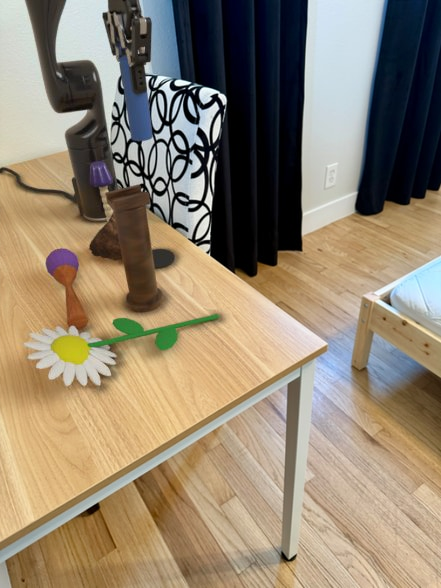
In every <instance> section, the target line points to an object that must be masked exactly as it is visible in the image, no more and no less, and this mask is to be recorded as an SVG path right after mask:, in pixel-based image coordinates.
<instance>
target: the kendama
mask: <svg viewBox="0 0 441 588" xmlns="http://www.w3.org/2000/svg"><path fill="white" fill-rule="evenodd" d="M45 259H46V260H45V268H46V271H47V273H48V274H49V275H50V276H51V277H52V278H53V279H54V280H55V281H56V282H57V283H59V284H61V285H62V286H64V292H65V294H64V295H65V308H66V309H65V310H66V323H67V327H68V329H69V328H70V326H75V328H76V329H77V330H78V331H79V330H82V329H84V328H86V327H87V325H89V318H88V316H87V314H86V311H85V309H84V307H83V305H82V303H81V302H80V301H81V300H80V299H79V297H78V295H77V293H76V291H75V289H74V287H73V283H74V281H75V279H76V278H77V274H78V271H79V267H80V263H79V259H78V256H77V254H75V253H74V252H73V251H72V250H69V249H68V248H62V247H61V248H56V249H53V250H52V251H50V253H49V254H48V256H47V257H46V258H45Z"/></svg>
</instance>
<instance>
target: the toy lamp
mask: <svg viewBox="0 0 441 588" xmlns="http://www.w3.org/2000/svg"><path fill="white" fill-rule="evenodd" d="M112 182H113V178H112V176H111V174H110V172H109V170H108V168H107V166H106V164H105V163H104V162H102V161H97V162H93V163H92V164H91V165H90V184H91V185H92V186H95V187H99V189H100V194H101V196H102V202H103V203H104V204H103V207H104V209H105V215H106V216H107V217H106V219H107V221H106V223H107V222H108V221H109V219H110V218H111V216H112V214H113V210H112V208H111V207H110V206H109V205H108V204H107V200H106V195H105V193H106V192H109V191H108V189H107V188H108V186H107V185H109V184H111V183H112Z"/></svg>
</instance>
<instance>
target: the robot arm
mask: <svg viewBox="0 0 441 588" xmlns="http://www.w3.org/2000/svg"><path fill="white" fill-rule="evenodd" d="M24 3H25V7H26V10H27V13H28V17H29V21H30V25H31V29H32V33H33V38H34V43H35V48H36V52H37V57H38V62H39V67H40V72H41V76H42V82H43V85H44V90H45V94H46V97H47V100H48V102H49V105H50V108H51V109H52V110H53V111H54V112H55V113H57V114H69V113H70V114H71V113H76V112H83V111H86V113H85V115H84V116H83V117H82V119H80V120H79V121H78V122H77V123H74V124H73V125H72V126H70V127H68V128H67V129H66V130H65V131H64V140H65V145H66V148H67V152H68V156H69V160H70V164H71V168H72V172H73V177H72V178H71V183H72V188H73V191H74V194H73V195H72V194H70V193H69V192H67V191H64V190H60V189H50V188H37V187H34V186H30V185H27V184H25V183H24V182H23V181H21V176H20V174H19V173H18V172H16V171H14V170H13V169H11V168H8V167H6V166H5V167H4V166H2V167H0V173H3V171H6V172H8V173H10V174H12V175H13V176H15V177H16V183H17V184H18V185H19V186H20V187H22V188H24V189H26V190H29V191H33V192H36V193H42V194H43V193H44V194H59V195H63V196H65V197H67V198H68V199H69V200H71V201H72V202H74V203H76V204H77V208H78V212H79V216H80V217H83V218H84V220H86V221H89V222H95V223H98V222H107V219H106V217H107V216H106V215H105V209H104V207H103V204H104V203H103V202H102V196H101V194H100V189H99V187H95V186H92V185H91V184H90V165H91V164H92V163H93V162H97V161H102V162H104V163H105V164H106V166H107V168H108V170H109V172H110V174H111V176H112V178H113V182H112V183H111V184H109V185H107V186H108V188H107V189H108V191H109V192H110V191H114V190H118V189H119V185H118V180H117V173H116V170H115V168H116V167H115V164H114V159H113V153H112V147H111V142H110V136H109V131H108V123H107V118H106V110H105V101H104V96H103V95H104V94H103V88H102V82H101V76H100V74H99V70H98V68H97V66H96V64H95V62H93V61H92V60H90V59H77V60H67V61H60V62H58V61H57V48H56V47H57V37H58V31H59V25H60V23H61V18H62V15H63V13H64V9H65V7H66V3H67V0H24ZM143 15H144V14H143V11H142V7H141V4H140V0H107V11H103V12H102V16H101V17H102V20H103V24H104V27H105V32H106V35H107V39H108V43H109V48H110V51H111V54H112V56H113V57H115V59H116V61H117V63H118V65H119V71H120V78H121V85H122V86H123V81H122V74H121V67H120V61H119V58H120V57H124V56H127V59H128V64H129V66H130V67H129V71H130V78H131V85H132V91H133V93H135V94H140V93H146V92H147V93H148V84H147V75H146V69H145V67H146V66H147V63H151V62H152V34H153V33H152V29H153V23H152V19H151V17H149V16H146V17H144V16H143ZM112 210H113V209H112Z"/></svg>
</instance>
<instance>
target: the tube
mask: <svg viewBox="0 0 441 588" xmlns="http://www.w3.org/2000/svg"><path fill="white" fill-rule="evenodd" d="M119 61H120V62H119V63H120V65H119V68H120V67H121V72H120V75H121V74H122V79H121V82H122V81H123V85H122V88H123V92H124V100H125V107H126V113H127V120H128V126H129V127H128V128H129V133H130V139H131V140H132V141H134V142H144V141H145V142H146V141H149V140H151V139H153V129H152V128H153V127H152V119H151V111H150V103H149V96H148V91H147V92H146V93H140V94H135V93H133V91H132V85H131V78H130V71H129V67H130V66H129V64H128V59H127V56H124V57H120V58H119Z"/></svg>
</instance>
